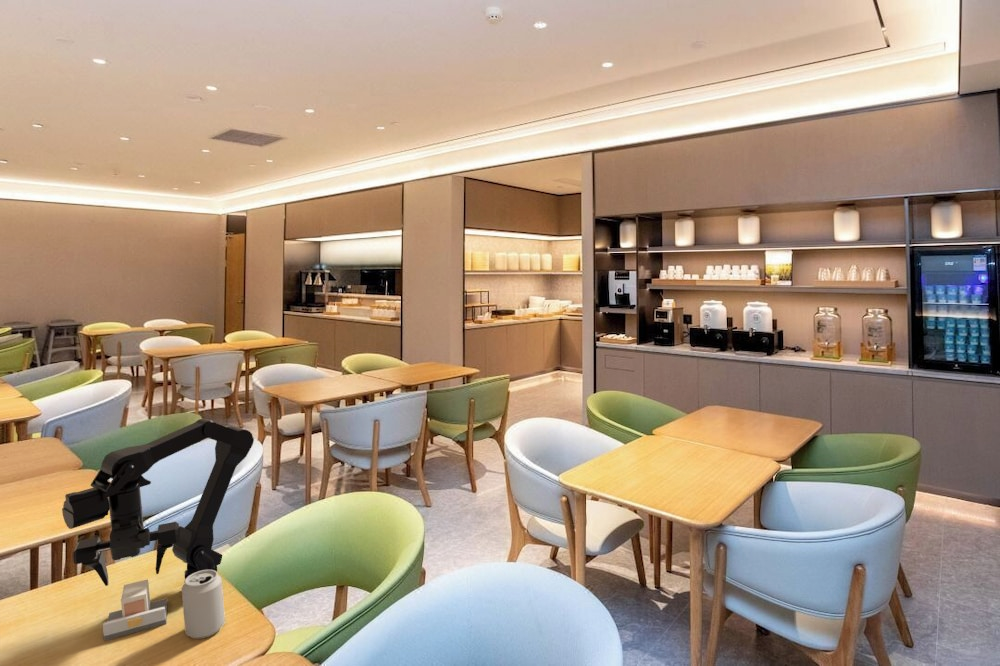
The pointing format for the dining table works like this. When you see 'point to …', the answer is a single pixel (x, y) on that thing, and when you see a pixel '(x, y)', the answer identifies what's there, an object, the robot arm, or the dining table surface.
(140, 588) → the carton
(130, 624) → the grey drawer
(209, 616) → the can
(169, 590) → the dining table surface
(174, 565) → the dining table surface
